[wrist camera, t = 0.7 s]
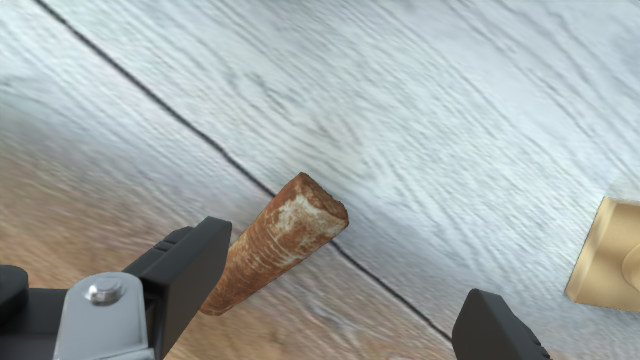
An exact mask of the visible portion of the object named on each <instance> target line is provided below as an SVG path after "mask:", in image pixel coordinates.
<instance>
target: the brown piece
mask: <svg viewBox="0 0 640 360" xmlns="http://www.w3.org/2000/svg"><path fill="white" fill-rule="evenodd" d="M348 225H349V220H348V213H347V210H346V209H345V207H344V205H343V204H342V203H341V202H340V201H337V200H335V199H333V197H332V196H331V195H329V194H328V193H327V192H326V191H325V190H323V189H322V187H320V186H319V184H318V183H317V182H315V181H314V180H313V179H312V178H311V177H310V176H309V175H307V174H306V173H303V172H300V173H299V174H298V175H297V176H296V177H295V178H294V179H292V180H291V181H290V182H289V183H288V184H286V185H285V186H284V188H283V189H282V190H281V191H280V192H279V193H278V194H277V195H276V197H275V198H274V199H273V200H272V201H271V202H270V203H269V204H268V205H267V206H266V208H265V209H264V210H263V211H262V212H261V213H260V214H259V216H258V217H257V219H256V220H255V221H254V222H253V223H252V224H251V225H250V226H249V227H248V228H247V229H246V230H245V231H244V233H243V234H242V235H241V236H240V237H239V238H238V239H237V241H236V242H235V243H234V244H233V245H232V246H231V247H230V249H229V250H228V254H227V260H226V265H225V268H224V271H223V274H222V276H221V278H220V280H219V282H218V283H217V285H216V286H215V288H214V289H213V290H212V292H211V293H210V295H209V296H208V297H207V299H206V300H205V302H204V303H203V304H202V306H201V307H200V309H199V310H200V311H201V312H202V313H204V314H207V315H213V316H219V315H221V314H223V313H225V312H226V311H228V310H229V309H230V308H232V307H233V306H235V305H236V304H238V303H240V302H241V301H243V300H245V299H246V298H248V297H249V296H251V295H252V294H253V293H255V292H256V291H258V290H260V289H261V288H263V287H264V286H265V285H267V284H268V283H270V282H271V281H273V280H274V279H276V278H277V277H279V276H280V275H282V274H283V273H285V272H286V271H287V270H289V269H290V268H292V267H293V266H295V265H296V264H298V263H300V262H301V261H303V260H304V259H305V258H307V257H308V256H309V255H311V254H312V253H313V252H314V251H316V250H317V249H318V248H320V247H321V246H323V245H324V244H326V243H327V242H329V241H330V240H331V239H333V238H334V237H335V236H336V235H338V234H339V233H340V232H341V231H343V230H344V229H345V228H346V227H347V226H348Z"/></svg>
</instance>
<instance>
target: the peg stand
mask: <svg viewBox="0 0 640 360" xmlns="http://www.w3.org/2000/svg"><path fill="white" fill-rule="evenodd" d="M565 294H566V295H567V296H568V297H569V298H570V299H571V300H572V301H573V302H576V303H582V304H588V305H594V306H600V307H607V308H613V309H619V310H625V311H632V312H638V313H640V202H638V201H630V200H623V199H616V198H609V197H604V198H603V201H602V203H601V206H600V208H599V210H598V213H597V215H596V218H595V220H594V222H593V225H592V227H591V230H590V232H589V234H588V237H587V239H586V242H585V244H584V246H583V249H582V251H581V254H580V256H579V258H578V261H577V263H576V266H575V268H574V270H573V273H572V275H571V278H570V280H569V282H568V285H567V287H566V290H565Z"/></svg>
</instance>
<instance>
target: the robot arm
mask: <svg viewBox="0 0 640 360" xmlns="http://www.w3.org/2000/svg"><path fill="white" fill-rule="evenodd" d="M231 230H232V223H231V222H229V221H226V220H222V219H218V218H215V217H211V216H208V217H207V218H205V219H204V220H203V221H202V222H201V223H200V224H198V225H197V226H196V227H195V228H194V227H190V226H187V227H184V228H181V229H178V230H175V231H173V232H172V233H170V234H169V235H168V236H166V237H165V238H164V239H163V240H162V241H160V242H159V243H157V244H156V245H155V246H154V247H153V248H151V249H150V250H148V251H147V252H146V253H144V254H143V255H142V256H141V257H139V258H138V259H137V260H135V261H134V262H133V263H132V264H130V265H129V266H128V267H126V268H125V269H124V270H123V271H121V272H103V273H98V274H94V275H91V276H88V277H86V278H83V279H81V280H80V281H78V282H76V283H75V284H74V285H73V286H72V287H71V288H70V289H43V288H29V286H28V274H27V272H26V271H25V270H23V269H21V268H19V267H16V266H12V265H0V360H163V359H164V358H165V356H166V355H167V353H168V352H169V351H170V349H171V348H172V346H173V345H174V344H175V342H176V341H177V339H178V338H179V337H180V335H181V334H182V332H183V331H184V330H185V328H186V327H187V325H188V324H189V323H190V321H191V320H192V318H193V317H194V316H195V314H196V313H197V311H198V310H199V309H200V307H201V306H202V304H203V303H204V302H205V300H206V299H207V297H208V296H209V295H210V293H211V292H212V290H213V289H214V288H215V286H216V285H217V283H218V282H219V280H220V278H221V276H222V274H223V271H224V268H225V265H226V260H227V254H228V248H229V242H230V236H231ZM452 346H453V349H454V352H455V355H456V357H457V360H552V359H550V355H549V354H548V353H547V351H546V350H545V349H544V347H542V346H541V343H540V342H539V340H538V339H537V338H536V336H535V335H534V334H533V332H532V331H531V329H529V328H528V327H527V326H526V325H525V324H524V323H523V322H522V321H521V320H519V319H518V318H517V317H516V316H515V315H514V314H513V312H512V311H511V310H510V308H509V307H508V305H507V304H506V303H505V301H504V300H503V298H502V297H501V296H500V295H498V294H494V293H491V292H487V291H483V290H479V289H476V288H474V289H472V290H471V291H470V292H469V294H468V296H467V298H466V300H465V302H464V304H463V307H462V309H461V311H460V313H459V316H458V318H457V320H456V322H455V325H454V327H453V331H452Z"/></svg>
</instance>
